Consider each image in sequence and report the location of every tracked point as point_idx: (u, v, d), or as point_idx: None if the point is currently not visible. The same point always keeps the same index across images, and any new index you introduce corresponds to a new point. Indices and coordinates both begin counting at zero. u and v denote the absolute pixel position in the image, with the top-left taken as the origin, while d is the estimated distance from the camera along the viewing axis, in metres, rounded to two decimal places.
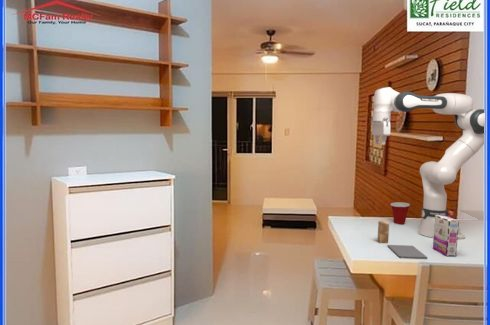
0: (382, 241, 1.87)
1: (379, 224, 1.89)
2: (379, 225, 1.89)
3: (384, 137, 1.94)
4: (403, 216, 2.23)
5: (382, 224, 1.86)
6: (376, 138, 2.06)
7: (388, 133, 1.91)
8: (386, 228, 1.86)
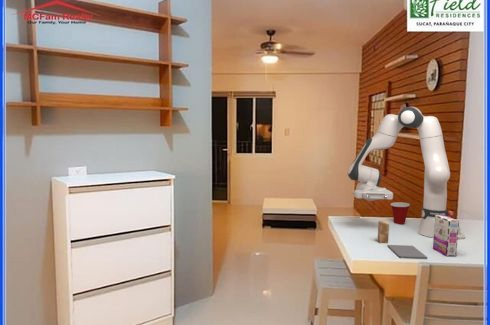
0: (382, 241, 1.87)
1: (379, 224, 1.89)
2: (379, 225, 1.89)
3: (362, 195, 2.03)
4: (403, 216, 2.23)
5: (382, 224, 1.86)
6: None
7: (355, 193, 2.05)
8: (386, 228, 1.86)
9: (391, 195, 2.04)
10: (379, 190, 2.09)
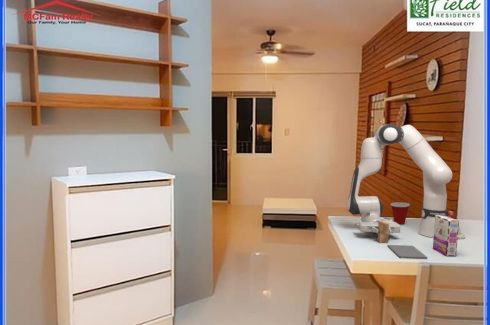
0: (382, 241, 1.87)
1: (379, 224, 1.89)
2: (379, 225, 1.89)
3: (372, 229, 1.92)
4: (403, 216, 2.23)
5: (382, 224, 1.86)
6: None
7: (360, 226, 1.94)
8: (386, 228, 1.86)
9: (398, 228, 1.92)
10: None
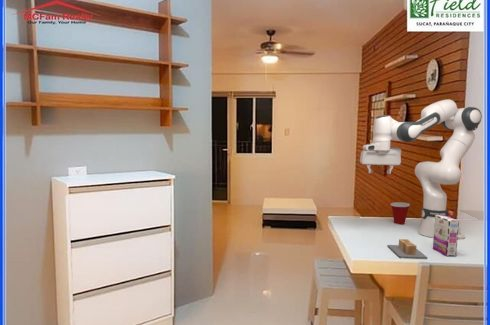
0: None
1: None
2: None
3: None
4: (403, 216, 2.23)
5: None
6: (369, 167, 1.96)
7: None
8: None
9: (362, 163, 1.97)
10: None
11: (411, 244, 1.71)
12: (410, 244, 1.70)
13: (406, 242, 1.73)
